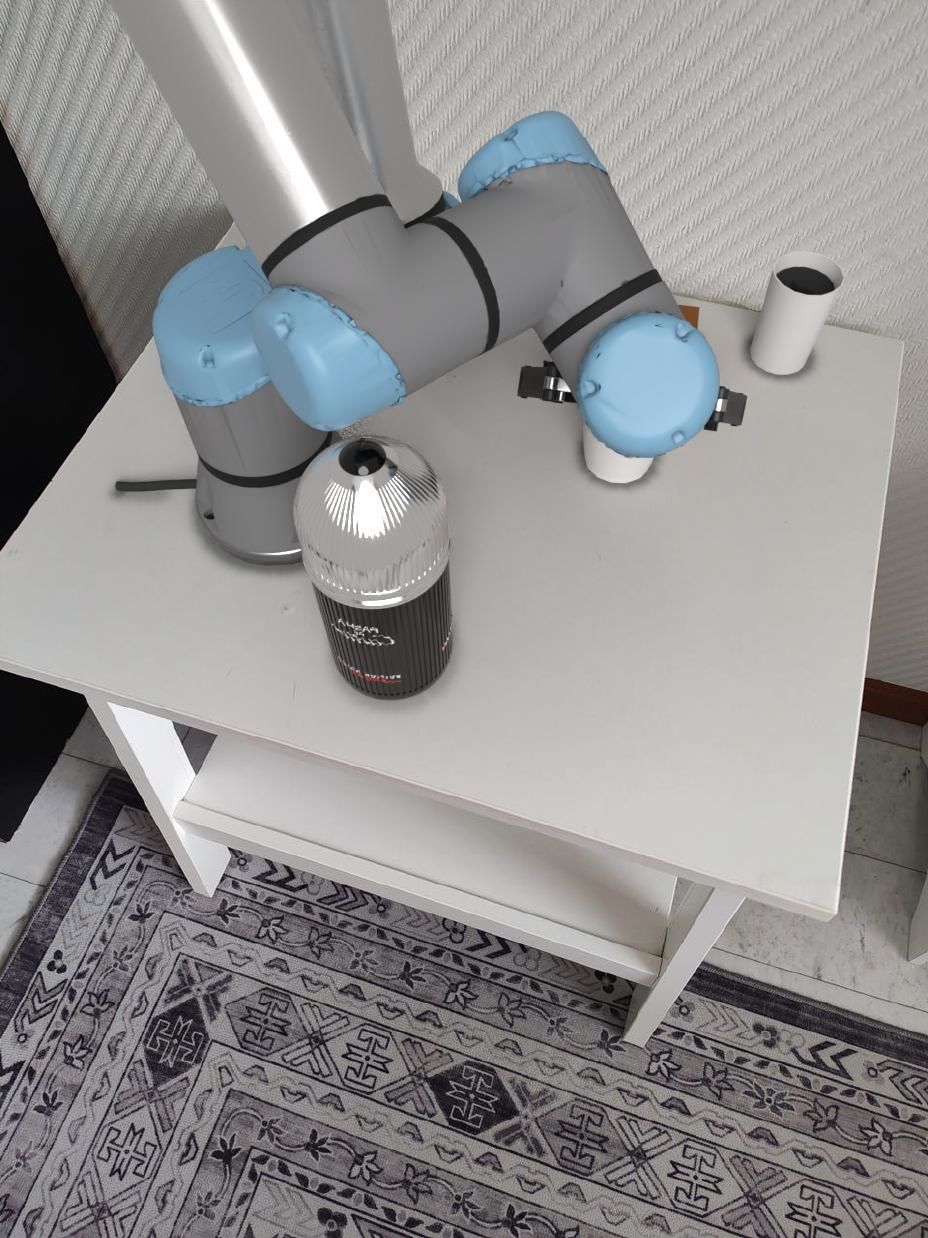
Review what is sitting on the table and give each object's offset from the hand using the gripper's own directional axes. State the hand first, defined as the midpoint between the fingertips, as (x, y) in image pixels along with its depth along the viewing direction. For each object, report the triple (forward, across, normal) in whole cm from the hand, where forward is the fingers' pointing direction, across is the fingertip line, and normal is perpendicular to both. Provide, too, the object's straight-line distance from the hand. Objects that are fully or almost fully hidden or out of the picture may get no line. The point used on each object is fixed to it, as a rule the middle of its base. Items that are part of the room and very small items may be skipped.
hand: (627, 397), depth 82 cm
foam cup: (+2, 0, -6) cm, 6 cm away
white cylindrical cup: (+14, +15, +6) cm, 21 cm away
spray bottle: (-16, -16, -23) cm, 32 cm away
